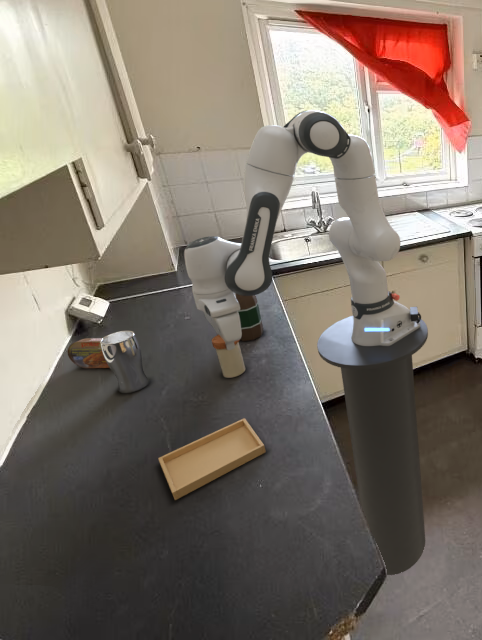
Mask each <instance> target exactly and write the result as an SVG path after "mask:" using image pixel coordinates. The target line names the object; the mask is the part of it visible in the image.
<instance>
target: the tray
mask: <svg viewBox="0 0 482 640" xmlns="http://www.w3.org/2000/svg"><path fill="white" fill-rule="evenodd" d="M266 452H267V451H266V447H265V444H264V443H263V441H262V440H261V439H260V437H259V436H258V435H257V433H256V432H255V430H254V429H253V428H252V426H251V425H250V423H249V421H248V420H247V418H245V417H243V418H242V419H239V420H238V421H235V422H233V423H231V424H229V425H227V426H224V427H222V428H220V429H218V430H216V431H214V432H211V433H209V434H207V435H205V436H203V437H201V438H199V439H197V440H194V441H192V442H190V443H188V444H186V445H184V446H181V447H178V448H176V449H175V450H173V451H170V452H168V453H166V454H164V455H162V456H160V457H158V458H157V459H158V462H159V465H160V467H161V470H162V472H163V475H164V477H165V480H166V482H167V484H168V487H169V489H170V492H171V494H172V496H173V499H174V501H177V500H179V499H180V498H182V497H184V496H186V495H188V494H190V493H192V492H194V491H196V490H197V489H199V488H201V487H203V486H205V485H207V484H209V483H210V482H212V481H215V480H216V479H218V478H220V477H222V476H224V475H226V474H227V473H229V472H231V471H233V470H235V469H237V468H238V467H241V466H243V465H244V464H246V463H248V462H250V461H252V460H254V459H255V458H257V457H259V456H262V455H264V454H265V453H266Z"/></svg>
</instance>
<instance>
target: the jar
mask: <svg viewBox="0 0 482 640" xmlns="http://www.w3.org/2000/svg"><path fill="white" fill-rule="evenodd" d="M240 345H241V344H240V341H239V342H238V343H237V344H236V345H235V348H234V349H232V350H227V348H226V349H215V352H216V355H217V359H218V362H219V366H220V370H221V373H222V377H224V378H227V379H230V378H236V377H238V376H240V375H242V374H243V373H244V372H245V371H246V364H245V361H244V357H243V354H242V350H241V346H240Z"/></svg>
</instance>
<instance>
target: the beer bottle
mask: <svg viewBox="0 0 482 640" xmlns="http://www.w3.org/2000/svg"><path fill="white" fill-rule="evenodd" d="M235 294H236V293H235ZM236 299H237V300H238V302H239V305H240V310H238V313H239V317H240V324H241V331H242V336H241V339H240V340H239V341H242V342H247V341H254V340H256V339H259V338H260V337H262V335H263V333H264V325H263V320H262V316H261V312H260V311H261V310H260V306H259V302H258V298H257V295H253V296H242V295H238V294H236Z"/></svg>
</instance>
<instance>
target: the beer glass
mask: <svg viewBox="0 0 482 640" xmlns="http://www.w3.org/2000/svg"><path fill="white" fill-rule="evenodd" d="M101 338H102V339H101V340H100V344H101V348H102V352H103V355H104V358H105V360H106V362H107V364H108V366H109V367H110V368H109V369H110V371H111V372H112V373H113V374H114V376H115V378H116V379H117V386H118V391H119V393H121V394H131V393H135V392H138V391H140V390H142V389H144V388H145V387H147V386H148V385H149V384H150V380H149V378H148V376H147V375H146V374H145V371H144V368H143V366H144V365H143V355H142V349H141V345H140V343H139V341H138V338H137V336H136V334H135V331H133V330H121V331H116V332H112V333H110V334H108V335H105V336H103V337H101Z"/></svg>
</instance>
